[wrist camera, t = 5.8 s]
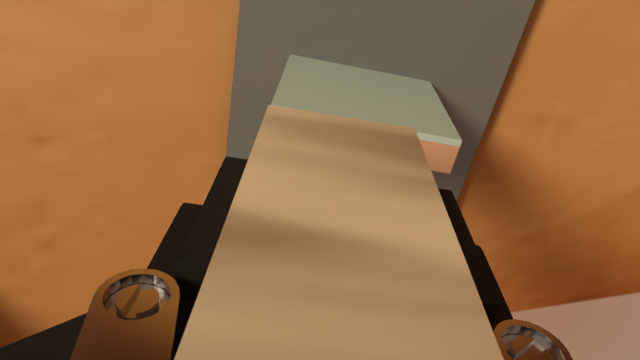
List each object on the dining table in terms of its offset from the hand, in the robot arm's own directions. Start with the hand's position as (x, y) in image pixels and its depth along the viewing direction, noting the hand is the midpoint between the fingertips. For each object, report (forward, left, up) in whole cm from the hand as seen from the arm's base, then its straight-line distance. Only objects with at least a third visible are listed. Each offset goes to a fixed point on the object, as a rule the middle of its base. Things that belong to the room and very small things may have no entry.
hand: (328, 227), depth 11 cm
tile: (-1, -2, -16) cm, 16 cm away
